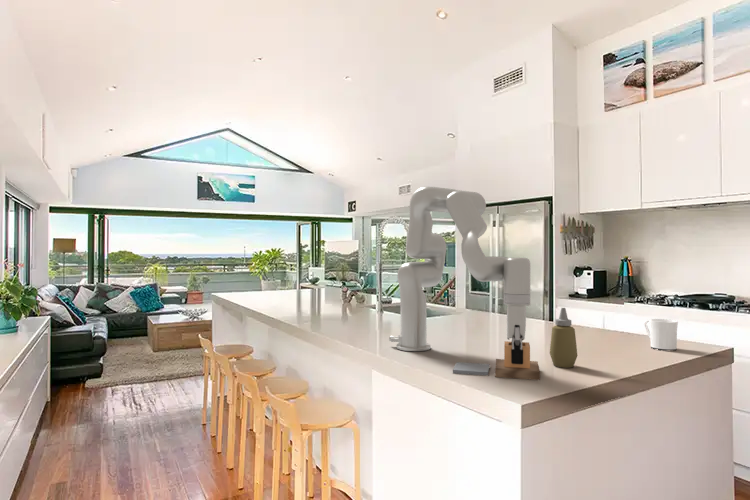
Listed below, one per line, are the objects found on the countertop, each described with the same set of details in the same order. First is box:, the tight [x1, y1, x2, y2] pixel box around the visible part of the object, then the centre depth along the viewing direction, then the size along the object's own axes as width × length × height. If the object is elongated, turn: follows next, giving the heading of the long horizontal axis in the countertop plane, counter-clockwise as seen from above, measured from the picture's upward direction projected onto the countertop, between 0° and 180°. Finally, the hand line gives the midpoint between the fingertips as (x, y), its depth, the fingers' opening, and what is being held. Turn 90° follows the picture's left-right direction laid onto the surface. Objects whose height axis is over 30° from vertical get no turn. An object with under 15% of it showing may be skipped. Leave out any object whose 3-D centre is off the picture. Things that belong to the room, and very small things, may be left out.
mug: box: [643, 318, 679, 351], centre depth 175 cm, size 11×9×10 cm
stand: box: [494, 358, 541, 381], centre depth 140 cm, size 12×12×10 cm
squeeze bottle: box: [549, 307, 578, 369], centre depth 148 cm, size 8×8×18 cm
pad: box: [452, 361, 491, 376], centre depth 143 cm, size 10×10×1 cm
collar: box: [503, 340, 531, 368], centre depth 140 cm, size 7×7×6 cm
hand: (517, 360), depth 140 cm, fingers closed on collar, 7 cm apart
